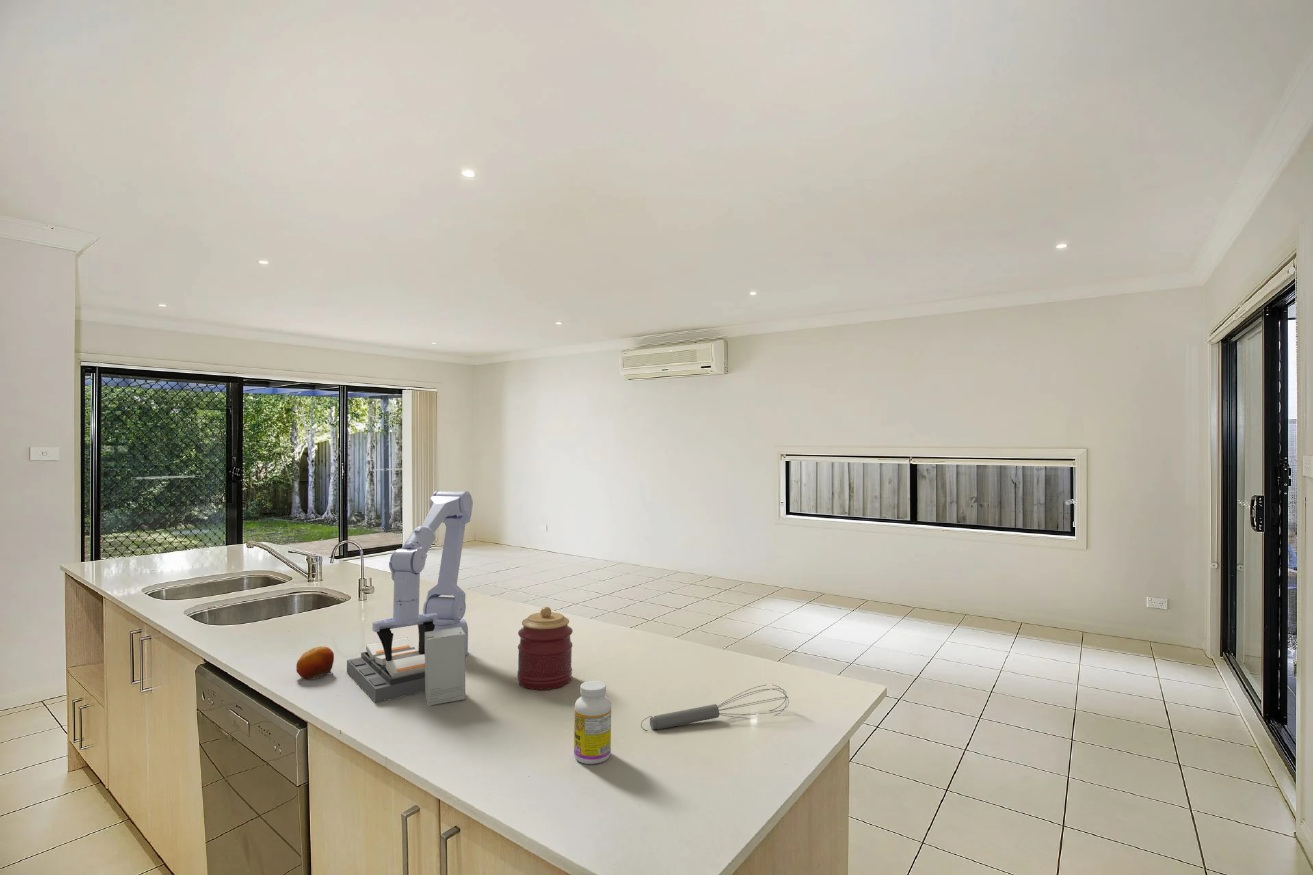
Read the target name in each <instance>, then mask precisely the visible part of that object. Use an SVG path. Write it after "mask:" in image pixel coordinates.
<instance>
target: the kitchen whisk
mask: <svg viewBox="0 0 1313 875" xmlns="http://www.w3.org/2000/svg"><path fill="white" fill-rule="evenodd" d="M764 686H766V684H763V685H758V686H755V687H752V688H749V689H747V690H745V691H742V692H740V693H738V694H736V695H734V696H732V697H730V698H729V699H727V700H725V701H723V702H722V703H719V704H716V703H714V704H709V705H704V706H698V707H692V708H688V709H683V710H677V711H673V712H668V713H663V714H657V715H654V716H652V715H650V716H647V717H646V718H644V719H643V720H642V721H641V724H640V728H641V729H642V730H644V731H649V730H648V729H645V728H643V725H642V724H643V722H644V721H645V720H646V719H649V725H650V729H651V731H652V730H653V731H654V730H664V729H668V728H674V727H678V726H682V725H688V724H693V723H697V722H701V721H708V720H712V719H717V718H719V717H720V716H723V717H730V718H735V715H736V718H738V719H746V717H745V715H747V716H748V715H751V716H754V715H755V713H729V715H728V713H723V712H720V711H726V710H731V709H738V708H742V707H749V706H753V705H758V704H763V703H764V704H765V703H768V702H775V701H779V700H784V701H783V702H782V704H780V705H779V706H777V707H775V708H773V709H770V710H769V714H772V713H775V714H773V715H772V716H777V715H779V714H781V713H782V712H783V711H784V710H785V709H786V708H788V706H789V704H790V701H789V696H787V694H786V692H785V690H784V689H782V688H781V687H780V686H779V685H777V684H776V685H775V684H773V686H774V687H776V688H763V689H759V690H754V691H750V690H753V689H756V688H760V687H764ZM777 687H778V688H777ZM748 691H749V692H748ZM764 691H765V692H766V691H778V692H780V693H782V694H783V695H784V696H781V697H779V698H778V697H775V698H769V699H763V700H758V701H753V702H749V703H744V704H739V705H735V706H730V707H725V708H721V707H724V706H726V705H728V704H730V703H733V702H736V701H738V700H741V699H744V698H745V697H748V696H752V695H754V694H757V693H761V692H764ZM744 693H745V694H744ZM741 694H742V695H741ZM786 701H787V704H785V705H784V703H786ZM782 705H784V708H781V709H779V710H777V709H778V708H780V707H781V706H782ZM720 708H721V709H720ZM777 712H778V713H777ZM765 714H766V715H767V714H768V712H762V713H760V715H765ZM733 715H734V716H733ZM737 715H740V716H737ZM741 716H744V717H741Z"/></svg>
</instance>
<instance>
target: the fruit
mask: <svg viewBox="0 0 1313 875" xmlns="http://www.w3.org/2000/svg"><path fill="white" fill-rule="evenodd" d="M334 660H335V654H334V651H333V650H332V649H331V648H329V647H328V646H317V647H313V648H311V649H308V650H306V651H305V652H303V653H302V655H301V656H300V657H299V659H297V662H296V665H295V666H296V667H295V668H296V674H298V675H299V676H300V677H301V678H302V679H303V680H304V679H305V680H313V679H319V680H320V679H321V677H322V676H323V675H327V674H331V675H334V673H333V672H332V669H333V665H334V662H335V661H334Z"/></svg>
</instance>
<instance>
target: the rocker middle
mask: <svg viewBox="0 0 1313 875" xmlns="http://www.w3.org/2000/svg"><path fill="white" fill-rule="evenodd" d="M417 655H420V654H419V650H418V648H415V649H413V650H407V651H402V652H397V653H392V660H397V659H402V658H407V657H412V656H417ZM392 660H391V661H392ZM386 662H387V661H386V658H385V655H381V656H376V657H375V663H378V664H381V665H385V664H386Z"/></svg>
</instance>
